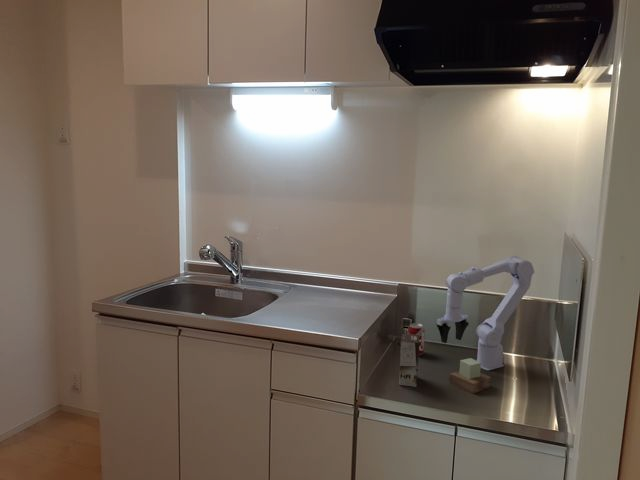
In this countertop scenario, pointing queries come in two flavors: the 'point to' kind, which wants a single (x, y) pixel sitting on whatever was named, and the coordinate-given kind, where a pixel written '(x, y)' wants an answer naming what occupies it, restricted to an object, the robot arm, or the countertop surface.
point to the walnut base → (470, 382)
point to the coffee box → (409, 360)
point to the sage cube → (470, 368)
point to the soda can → (420, 331)
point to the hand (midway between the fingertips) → (451, 340)
